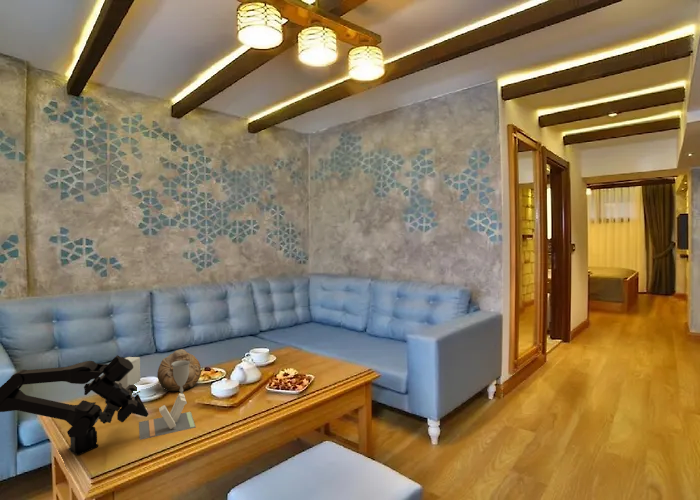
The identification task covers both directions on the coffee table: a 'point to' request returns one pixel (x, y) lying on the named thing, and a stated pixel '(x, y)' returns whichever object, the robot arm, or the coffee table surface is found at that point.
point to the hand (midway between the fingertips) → (147, 415)
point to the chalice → (181, 373)
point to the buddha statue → (167, 371)
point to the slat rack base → (160, 425)
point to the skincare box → (131, 373)
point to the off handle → (167, 416)
